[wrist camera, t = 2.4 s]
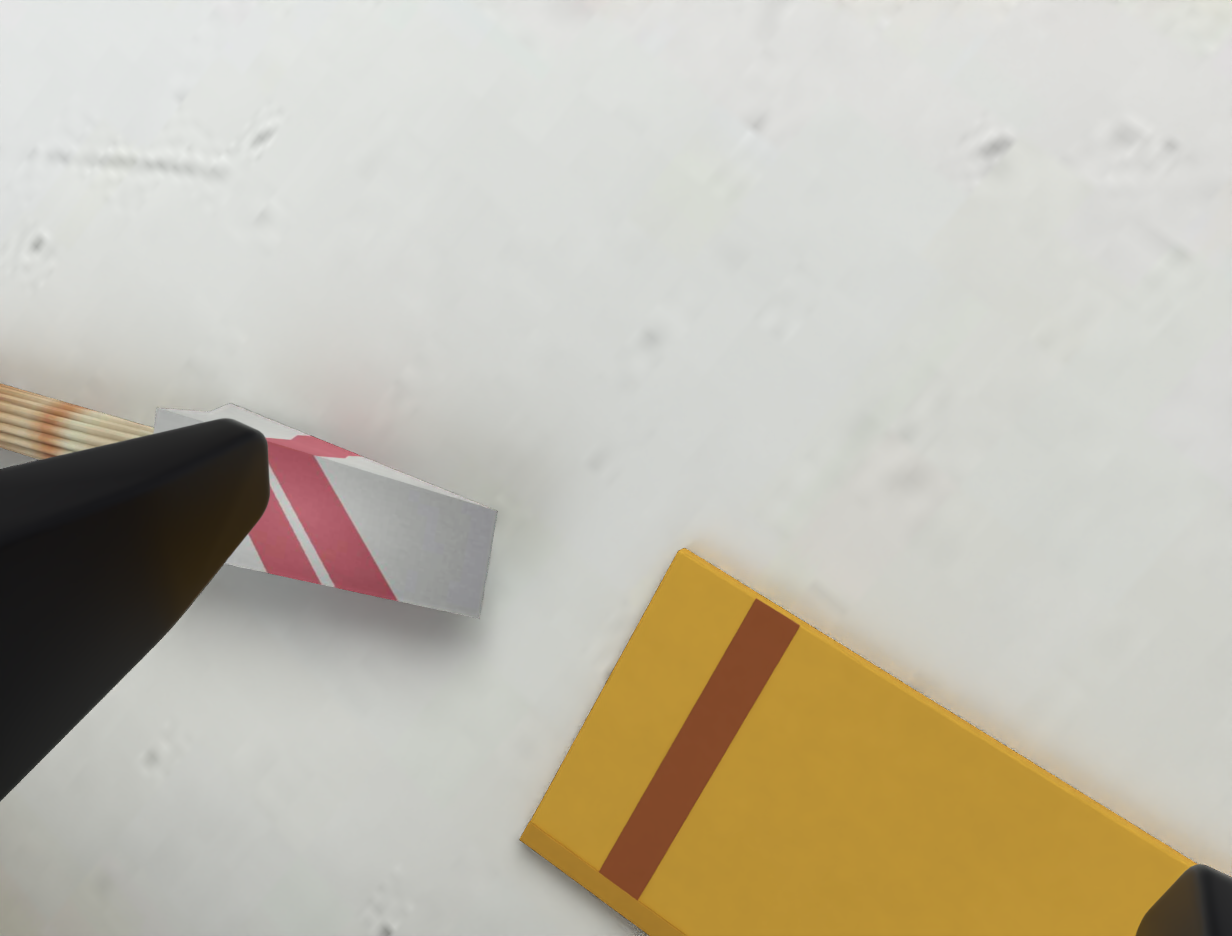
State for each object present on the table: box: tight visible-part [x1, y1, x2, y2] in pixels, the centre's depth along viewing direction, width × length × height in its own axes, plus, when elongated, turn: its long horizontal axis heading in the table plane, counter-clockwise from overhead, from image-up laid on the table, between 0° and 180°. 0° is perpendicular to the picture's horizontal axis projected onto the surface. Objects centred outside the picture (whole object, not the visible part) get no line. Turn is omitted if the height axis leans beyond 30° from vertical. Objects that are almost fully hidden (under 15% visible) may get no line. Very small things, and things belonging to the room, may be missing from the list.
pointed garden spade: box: [0, 384, 498, 619], centre depth 29 cm, size 4×3×20 cm
